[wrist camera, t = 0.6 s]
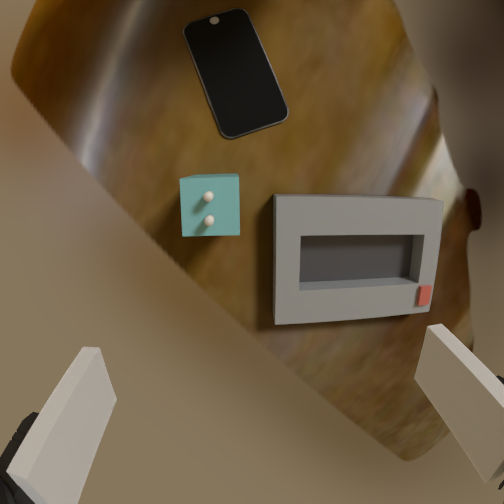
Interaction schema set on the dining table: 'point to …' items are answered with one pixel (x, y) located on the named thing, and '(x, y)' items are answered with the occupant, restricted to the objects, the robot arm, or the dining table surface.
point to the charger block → (210, 205)
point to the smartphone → (235, 73)
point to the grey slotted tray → (353, 256)
